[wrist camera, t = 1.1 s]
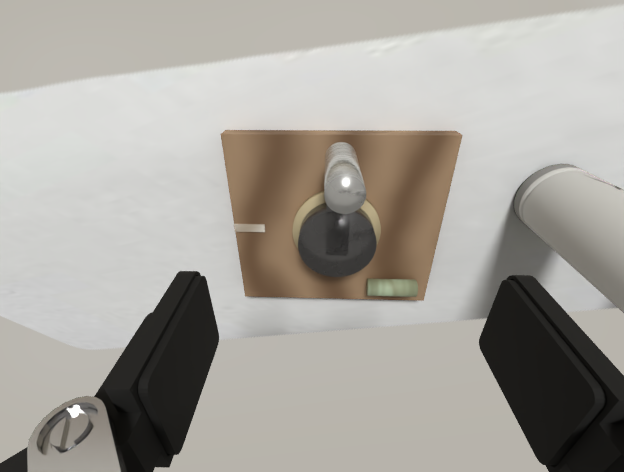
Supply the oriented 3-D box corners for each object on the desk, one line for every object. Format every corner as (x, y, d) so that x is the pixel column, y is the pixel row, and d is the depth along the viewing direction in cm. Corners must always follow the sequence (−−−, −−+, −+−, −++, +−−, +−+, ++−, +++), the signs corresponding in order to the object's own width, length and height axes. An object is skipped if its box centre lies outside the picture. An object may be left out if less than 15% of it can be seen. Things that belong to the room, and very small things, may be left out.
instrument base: (455, 131, 27) (470, 141, 24) (420, 291, 36) (427, 312, 34) (225, 130, 28) (214, 139, 25) (248, 287, 37) (241, 307, 34)
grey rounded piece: (384, 135, 25) (410, 175, 17) (370, 265, 32) (384, 336, 24) (296, 135, 25) (283, 174, 18) (300, 263, 32) (292, 333, 24)
